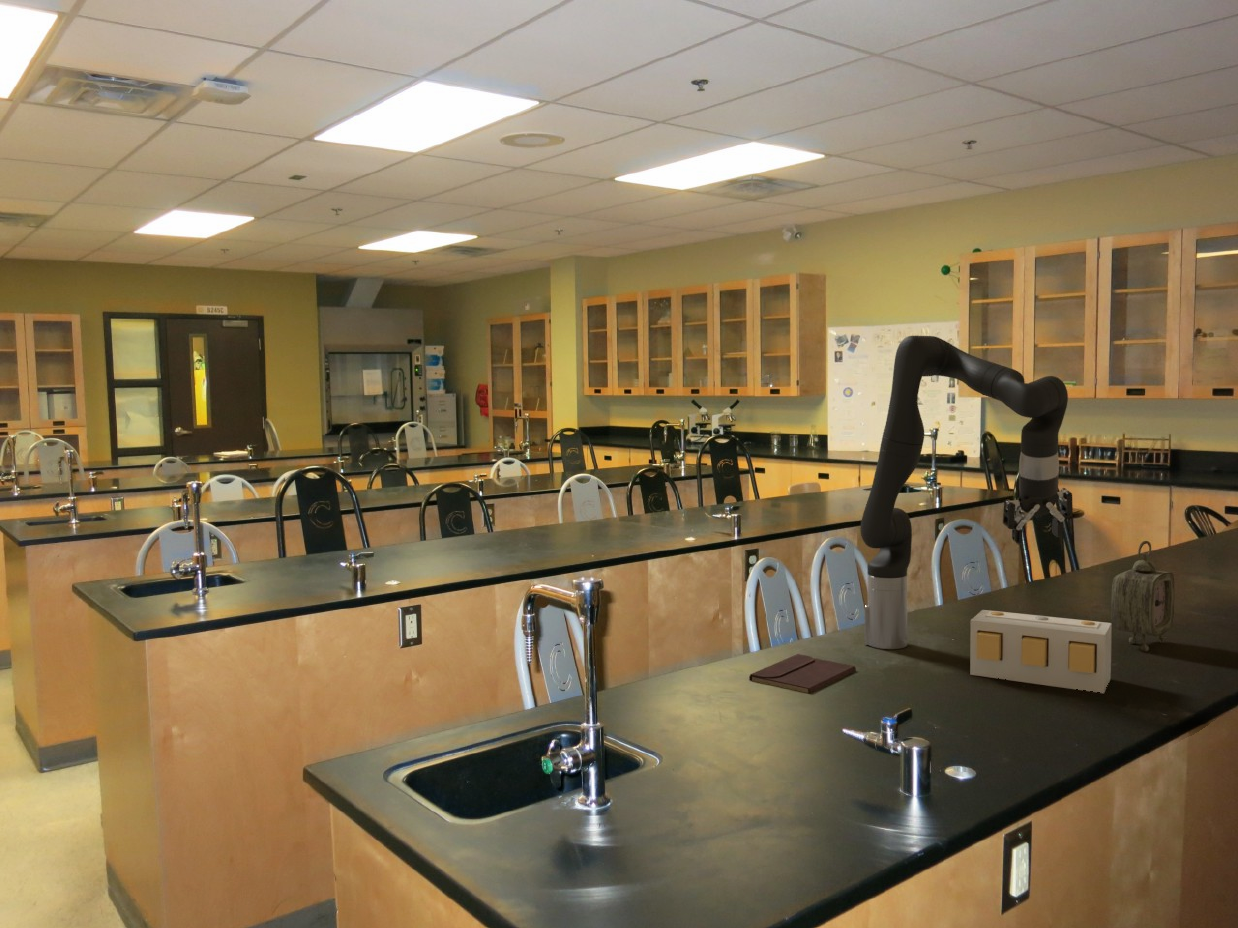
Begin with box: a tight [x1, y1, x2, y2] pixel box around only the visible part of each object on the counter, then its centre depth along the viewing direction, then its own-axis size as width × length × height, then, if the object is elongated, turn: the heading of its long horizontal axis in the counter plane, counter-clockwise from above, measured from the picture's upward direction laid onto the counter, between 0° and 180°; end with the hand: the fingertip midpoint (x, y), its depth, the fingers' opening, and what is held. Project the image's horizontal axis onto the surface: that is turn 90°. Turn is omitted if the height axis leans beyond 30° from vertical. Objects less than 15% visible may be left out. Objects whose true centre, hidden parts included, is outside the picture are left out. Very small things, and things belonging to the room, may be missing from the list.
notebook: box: [748, 653, 857, 694], centre depth 209 cm, size 15×20×2 cm
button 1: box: [977, 631, 1002, 661], centre depth 204 cm, size 4×3×5 cm
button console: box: [969, 609, 1113, 694], centre depth 204 cm, size 26×11×12 cm, turn 57°
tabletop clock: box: [1110, 540, 1175, 653], centre depth 226 cm, size 14×9×25 cm, turn 131°
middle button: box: [1022, 636, 1047, 667], centre depth 199 cm, size 4×3×5 cm
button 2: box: [1069, 642, 1095, 673], centre depth 194 cm, size 4×3×5 cm
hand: (1037, 539), depth 205 cm, fingers open, 8 cm apart
